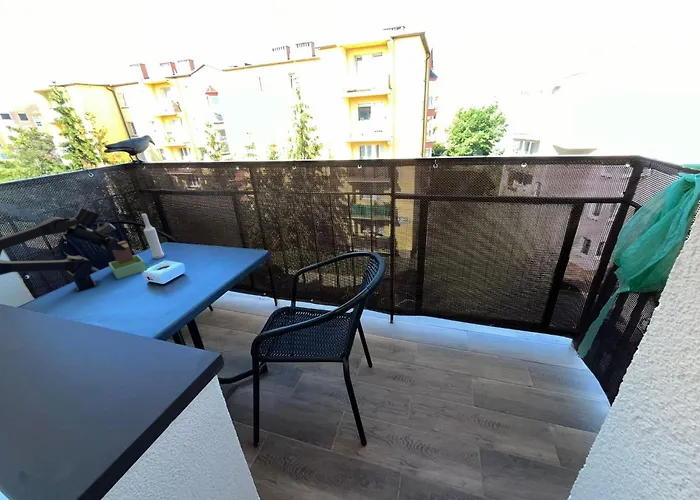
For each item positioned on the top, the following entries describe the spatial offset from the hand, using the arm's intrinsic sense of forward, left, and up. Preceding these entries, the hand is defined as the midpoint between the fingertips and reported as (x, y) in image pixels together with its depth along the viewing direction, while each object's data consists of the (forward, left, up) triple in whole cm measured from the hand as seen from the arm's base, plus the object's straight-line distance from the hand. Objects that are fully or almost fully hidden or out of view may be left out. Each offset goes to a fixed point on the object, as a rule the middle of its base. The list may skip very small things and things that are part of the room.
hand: (124, 248), depth 134 cm
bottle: (-7, +14, -12) cm, 19 cm away
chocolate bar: (0, -1, -7) cm, 7 cm away
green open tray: (0, -1, -12) cm, 12 cm away
